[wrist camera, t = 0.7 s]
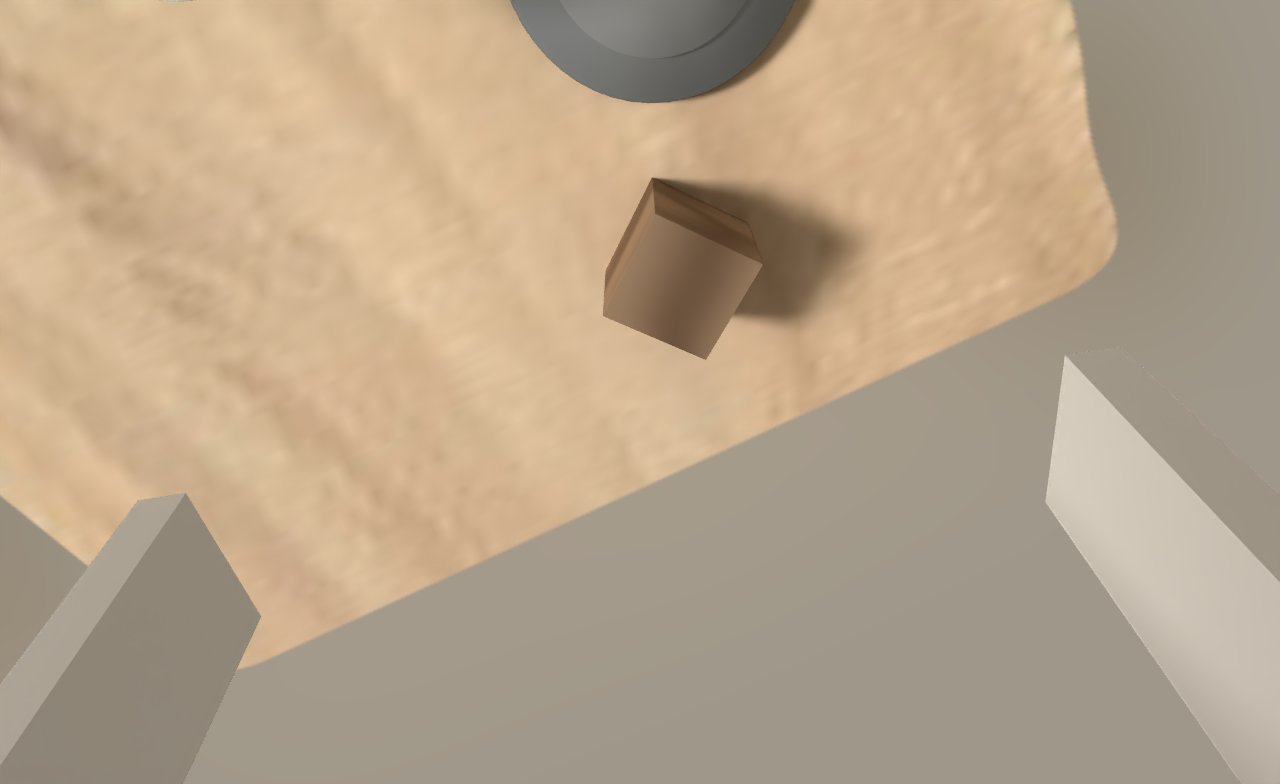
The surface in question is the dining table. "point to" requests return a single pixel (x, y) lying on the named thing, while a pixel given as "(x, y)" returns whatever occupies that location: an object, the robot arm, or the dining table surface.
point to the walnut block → (680, 270)
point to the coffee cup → (176, 0)
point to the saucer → (652, 42)
